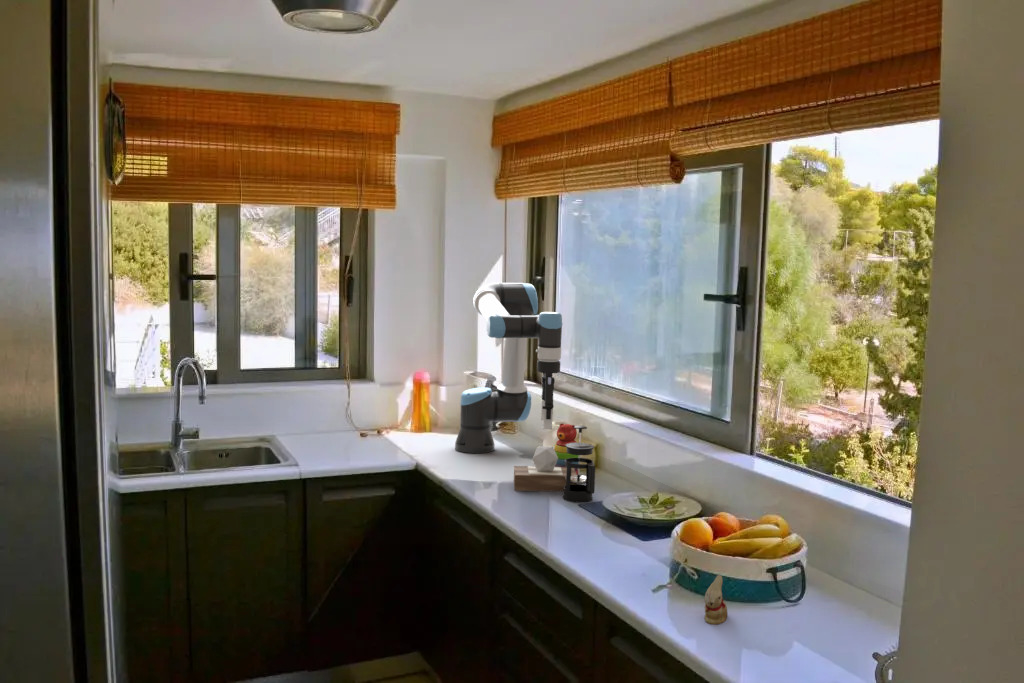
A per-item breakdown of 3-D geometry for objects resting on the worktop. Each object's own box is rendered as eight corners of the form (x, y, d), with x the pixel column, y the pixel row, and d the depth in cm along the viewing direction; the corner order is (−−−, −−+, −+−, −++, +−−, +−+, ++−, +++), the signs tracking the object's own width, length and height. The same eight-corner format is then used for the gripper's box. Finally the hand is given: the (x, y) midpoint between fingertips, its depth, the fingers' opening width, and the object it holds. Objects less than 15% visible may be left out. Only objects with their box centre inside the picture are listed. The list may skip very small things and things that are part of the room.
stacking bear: (543, 474, 312) (545, 423, 310) (562, 469, 319) (564, 420, 317) (568, 480, 305) (570, 428, 303) (586, 475, 312) (588, 424, 310)
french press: (555, 496, 285) (557, 424, 282) (576, 492, 291) (579, 421, 288) (581, 505, 276) (583, 431, 273) (602, 500, 282) (605, 428, 279)
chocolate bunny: (693, 618, 194) (695, 573, 193) (718, 610, 199) (720, 566, 198) (712, 627, 190) (714, 581, 189) (737, 619, 194) (740, 574, 193)
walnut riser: (513, 480, 303) (514, 465, 302) (573, 481, 303) (573, 466, 303) (514, 490, 291) (515, 474, 290) (576, 491, 291) (577, 475, 291)
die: (549, 477, 291) (565, 452, 293) (526, 462, 292) (542, 437, 294) (547, 479, 299) (562, 455, 301) (525, 465, 300) (541, 441, 302)
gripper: (535, 354, 305) (533, 416, 307) (539, 365, 280) (536, 432, 282) (557, 355, 305) (555, 417, 307) (563, 365, 280) (560, 433, 283)
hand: (546, 424), depth 295 cm, fingers open, 13 cm apart
